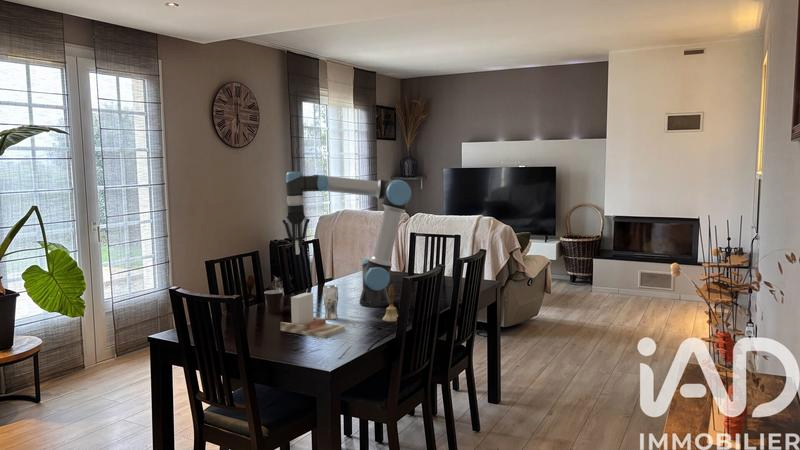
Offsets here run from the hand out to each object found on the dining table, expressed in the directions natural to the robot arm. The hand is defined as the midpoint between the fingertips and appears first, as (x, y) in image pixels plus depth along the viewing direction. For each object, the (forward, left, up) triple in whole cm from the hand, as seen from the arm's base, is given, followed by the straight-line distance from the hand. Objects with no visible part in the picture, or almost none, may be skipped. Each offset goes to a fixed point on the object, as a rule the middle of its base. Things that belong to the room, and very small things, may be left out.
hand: (297, 254), depth 283 cm
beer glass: (-16, +10, -29) cm, 35 cm away
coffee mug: (+13, -5, -29) cm, 32 cm away
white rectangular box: (-5, +26, -27) cm, 38 cm away
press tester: (-10, +29, -29) cm, 42 cm away
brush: (-44, +13, -29) cm, 55 cm away
